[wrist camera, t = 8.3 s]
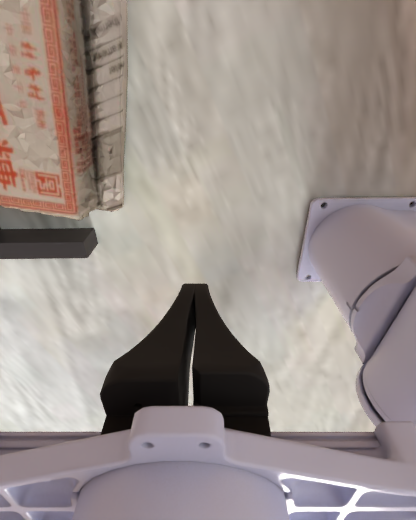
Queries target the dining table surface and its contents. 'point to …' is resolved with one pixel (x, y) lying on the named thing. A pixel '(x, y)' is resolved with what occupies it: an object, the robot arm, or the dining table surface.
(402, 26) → the dining table surface
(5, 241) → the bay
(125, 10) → the packaged product
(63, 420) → the dining table surface
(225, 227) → the dining table surface
